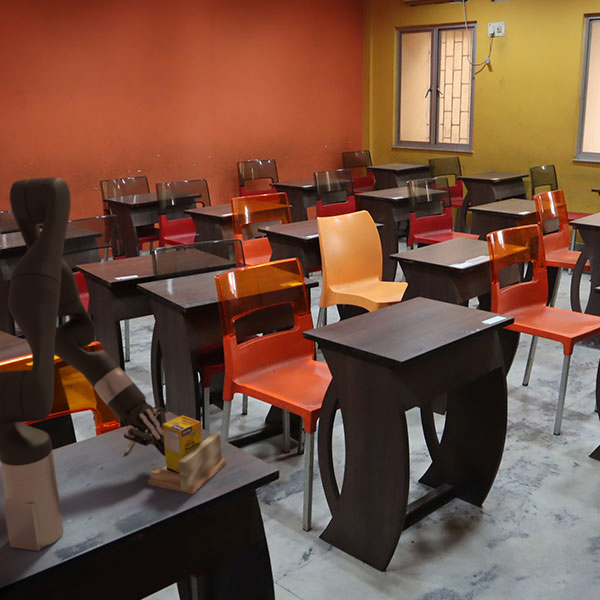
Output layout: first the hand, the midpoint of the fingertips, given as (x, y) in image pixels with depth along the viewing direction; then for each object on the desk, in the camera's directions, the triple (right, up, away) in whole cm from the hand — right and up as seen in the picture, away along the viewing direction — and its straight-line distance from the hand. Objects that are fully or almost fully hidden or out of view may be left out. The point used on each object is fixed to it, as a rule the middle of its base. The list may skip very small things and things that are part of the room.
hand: (170, 453), depth 166 cm
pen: (-11, -1, +15) cm, 19 cm away
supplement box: (+4, -3, -1) cm, 5 cm away
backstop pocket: (+3, -4, -1) cm, 5 cm away
